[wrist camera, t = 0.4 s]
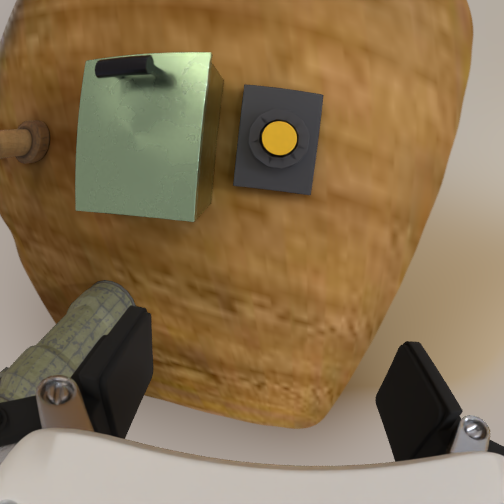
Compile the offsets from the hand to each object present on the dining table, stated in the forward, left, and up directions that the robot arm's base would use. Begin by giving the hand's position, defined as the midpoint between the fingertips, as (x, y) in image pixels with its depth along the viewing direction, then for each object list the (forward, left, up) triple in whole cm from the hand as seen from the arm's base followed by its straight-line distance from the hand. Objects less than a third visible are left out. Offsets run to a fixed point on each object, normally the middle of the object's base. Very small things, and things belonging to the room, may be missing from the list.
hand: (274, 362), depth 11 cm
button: (-8, 0, -26) cm, 27 cm away
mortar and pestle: (-7, -36, -30) cm, 47 cm away
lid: (-8, -14, -20) cm, 26 cm away
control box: (-8, 0, -29) cm, 30 cm away
